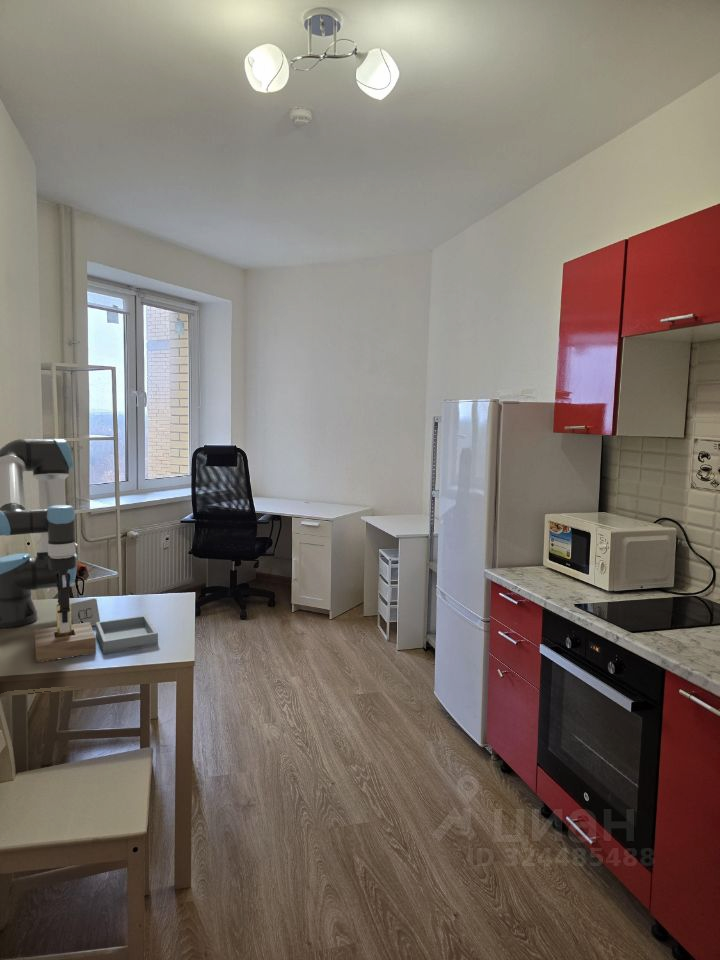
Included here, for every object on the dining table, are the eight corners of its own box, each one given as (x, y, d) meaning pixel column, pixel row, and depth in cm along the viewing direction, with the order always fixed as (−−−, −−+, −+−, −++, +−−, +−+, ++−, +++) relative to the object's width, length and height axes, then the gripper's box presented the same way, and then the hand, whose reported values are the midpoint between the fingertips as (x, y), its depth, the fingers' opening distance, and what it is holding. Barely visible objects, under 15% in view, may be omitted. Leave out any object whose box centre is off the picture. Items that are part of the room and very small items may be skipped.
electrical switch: (74, 631, 201) (72, 604, 201) (67, 629, 204) (65, 602, 204) (101, 624, 208) (99, 598, 208) (93, 623, 211) (91, 597, 211)
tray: (96, 633, 199) (95, 622, 198) (146, 626, 207) (145, 615, 206) (103, 654, 182) (103, 641, 181) (158, 645, 190) (157, 633, 189)
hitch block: (35, 645, 188) (34, 629, 188) (90, 636, 196) (89, 622, 196) (36, 663, 174) (36, 646, 174) (96, 653, 182) (95, 637, 182)
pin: (57, 647, 186) (56, 604, 185) (71, 645, 188) (70, 602, 187) (58, 651, 183) (56, 607, 181) (72, 649, 185) (71, 605, 183)
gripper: (78, 560, 177) (80, 636, 179) (73, 549, 192) (75, 619, 194) (49, 562, 173) (52, 640, 176) (47, 551, 188) (49, 623, 190)
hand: (64, 629), depth 185 cm, fingers closed on pin, 4 cm apart
